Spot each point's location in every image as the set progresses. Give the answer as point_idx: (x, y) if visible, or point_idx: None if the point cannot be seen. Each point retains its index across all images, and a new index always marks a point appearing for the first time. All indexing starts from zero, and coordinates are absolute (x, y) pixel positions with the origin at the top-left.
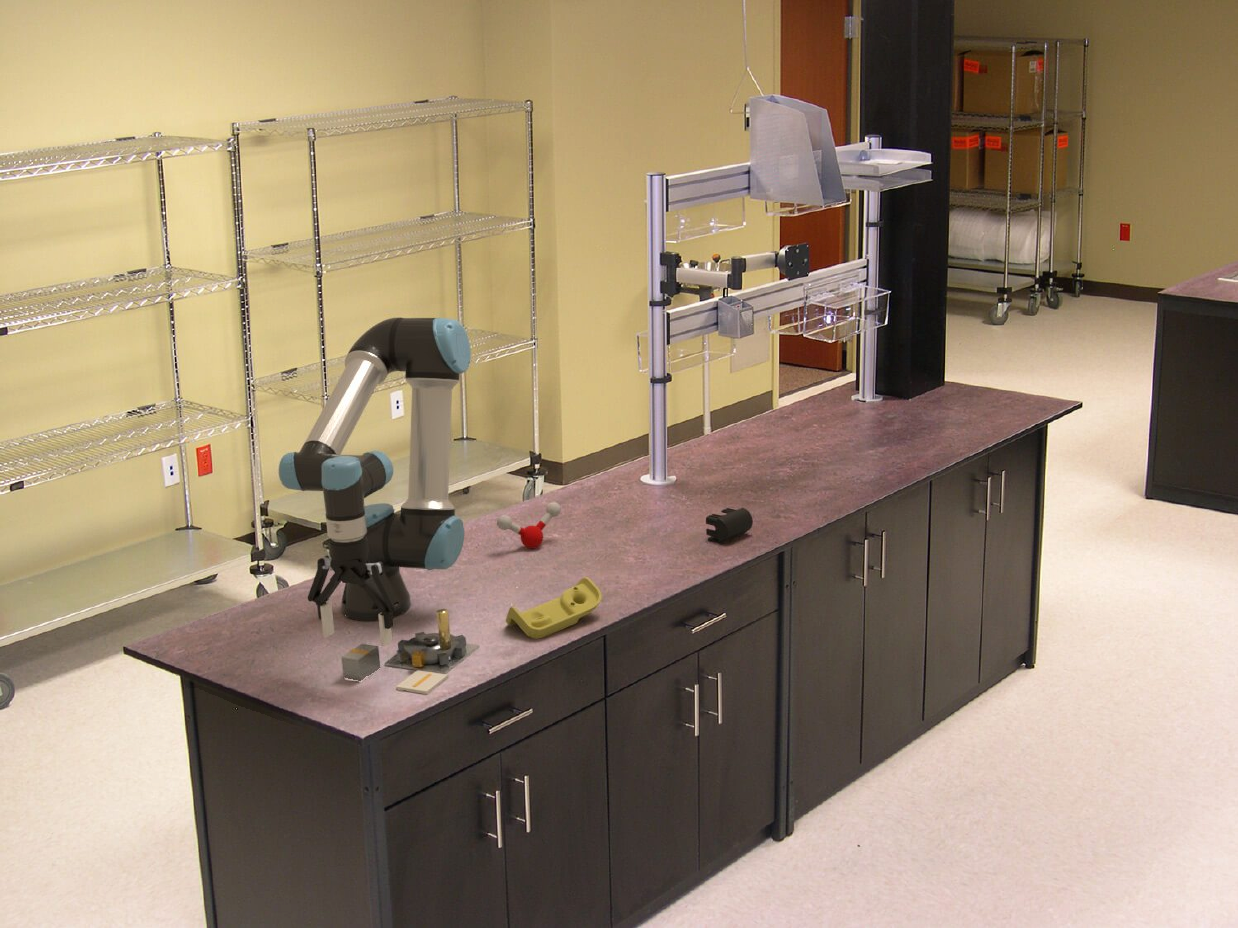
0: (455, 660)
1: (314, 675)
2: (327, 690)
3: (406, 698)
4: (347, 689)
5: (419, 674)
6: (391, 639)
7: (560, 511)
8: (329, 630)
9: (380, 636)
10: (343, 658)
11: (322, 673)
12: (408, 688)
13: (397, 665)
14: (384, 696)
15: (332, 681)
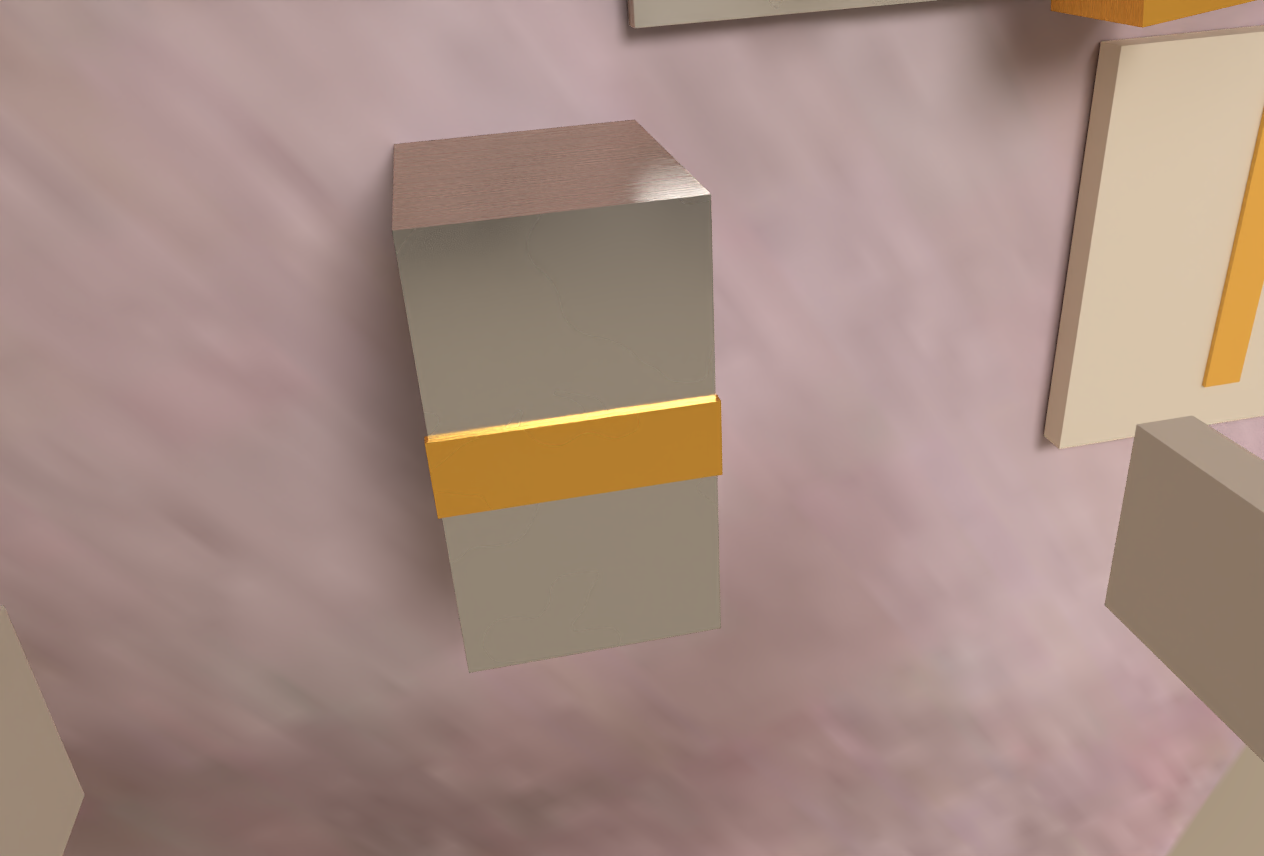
0: None
1: (77, 570)
2: (476, 709)
3: None
4: None
5: (1176, 135)
6: (1206, 434)
7: None
8: (22, 789)
9: (1202, 698)
10: (498, 657)
11: (112, 501)
12: None
13: (818, 8)
14: (1005, 569)
15: (374, 578)
